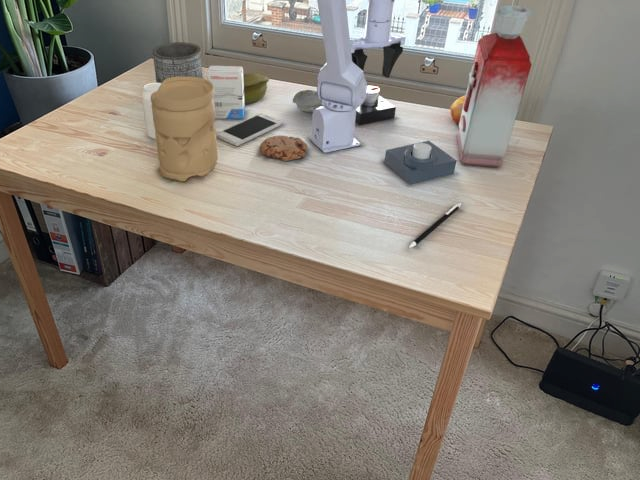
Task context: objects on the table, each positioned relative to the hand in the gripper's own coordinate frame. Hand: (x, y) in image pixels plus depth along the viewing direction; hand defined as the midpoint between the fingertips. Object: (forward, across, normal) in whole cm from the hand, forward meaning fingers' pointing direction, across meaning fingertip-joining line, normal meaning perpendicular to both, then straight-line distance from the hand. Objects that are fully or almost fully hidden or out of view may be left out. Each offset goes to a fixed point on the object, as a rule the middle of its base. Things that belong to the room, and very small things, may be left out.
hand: (372, 78), depth 139 cm
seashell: (+9, +12, -7) cm, 17 cm away
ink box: (+9, +32, -14) cm, 37 cm away
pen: (+9, +14, +48) cm, 51 cm away
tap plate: (+9, 0, 0) cm, 9 cm away
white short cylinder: (+5, +6, +31) cm, 31 cm away
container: (+9, +50, +9) cm, 51 cm away
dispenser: (+9, +4, +28) cm, 30 cm away
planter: (+9, +40, -29) cm, 50 cm away
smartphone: (+9, +31, -3) cm, 32 cm away
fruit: (+9, -19, +14) cm, 25 cm away
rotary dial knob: (+6, 0, 0) cm, 6 cm away
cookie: (+9, +28, +10) cm, 31 cm away
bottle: (+9, -12, +27) cm, 31 cm away
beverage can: (+9, +51, -10) cm, 53 cm away
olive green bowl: (+9, +24, -22) cm, 34 cm away
